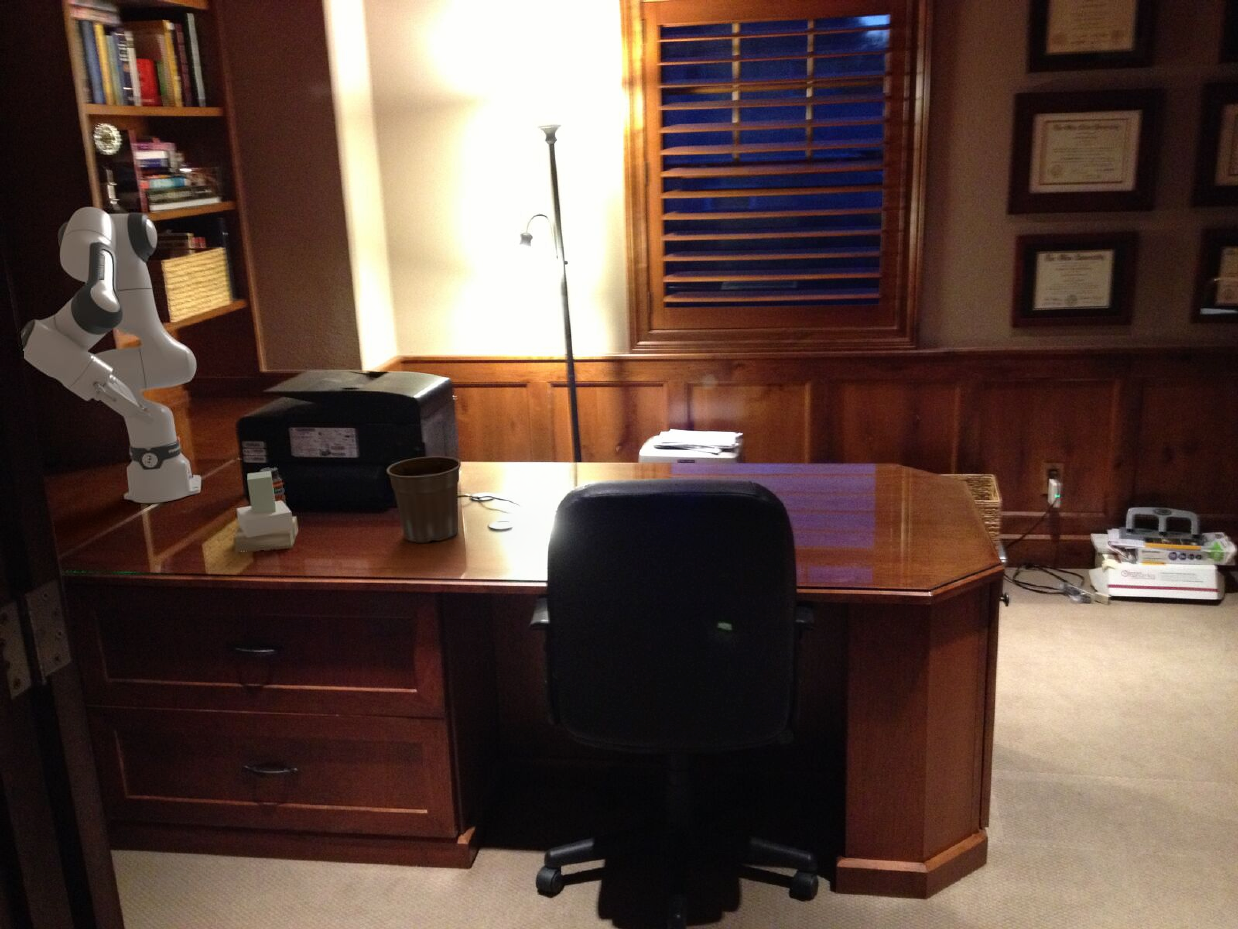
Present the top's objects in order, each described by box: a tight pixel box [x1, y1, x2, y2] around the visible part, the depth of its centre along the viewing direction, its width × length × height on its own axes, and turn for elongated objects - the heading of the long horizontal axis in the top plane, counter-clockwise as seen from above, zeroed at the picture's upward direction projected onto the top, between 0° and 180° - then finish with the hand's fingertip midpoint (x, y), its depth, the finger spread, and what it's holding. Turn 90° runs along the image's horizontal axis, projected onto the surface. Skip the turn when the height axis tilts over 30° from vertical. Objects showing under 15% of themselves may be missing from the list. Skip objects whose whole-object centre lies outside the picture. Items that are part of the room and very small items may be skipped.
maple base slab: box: [233, 515, 299, 553], centre depth 249 cm, size 12×12×4 cm
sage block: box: [246, 471, 276, 514], centre depth 247 cm, size 5×5×8 cm
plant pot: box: [386, 455, 462, 544], centre depth 247 cm, size 16×16×16 cm
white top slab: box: [236, 500, 294, 538], centre depth 248 cm, size 10×10×4 cm
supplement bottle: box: [259, 467, 287, 506], centre depth 267 cm, size 6×6×11 cm
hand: (149, 417), depth 242 cm, fingers open, 8 cm apart
